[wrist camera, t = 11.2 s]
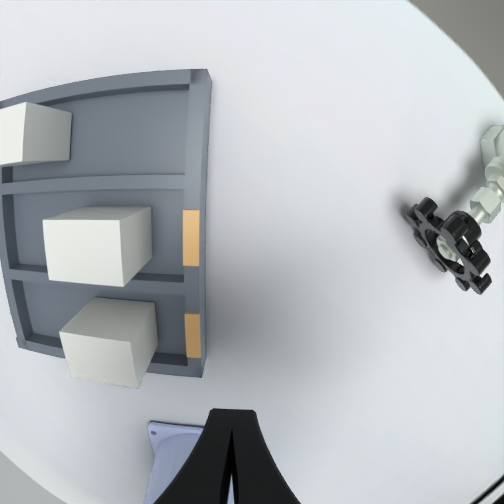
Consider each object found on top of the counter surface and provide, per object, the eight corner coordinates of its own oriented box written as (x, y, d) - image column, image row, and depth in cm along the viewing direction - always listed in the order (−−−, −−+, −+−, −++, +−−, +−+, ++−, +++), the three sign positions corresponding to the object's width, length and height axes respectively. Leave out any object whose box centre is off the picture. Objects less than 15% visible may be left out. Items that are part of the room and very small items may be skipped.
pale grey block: (158, 343, 18) (138, 388, 14) (100, 336, 18) (70, 376, 14) (154, 302, 17) (130, 341, 13) (94, 297, 17) (58, 331, 13)
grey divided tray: (205, 356, 20) (201, 379, 17) (34, 332, 19) (17, 348, 17) (212, 81, 16) (206, 67, 13) (17, 106, 15) (-5, 102, 13)
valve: (486, 100, 16) (389, 201, 18) (548, 90, 9) (451, 219, 11) (521, 171, 17) (437, 274, 19) (581, 180, 11) (495, 312, 13)
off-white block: (152, 257, 17) (123, 286, 12) (89, 254, 17) (48, 280, 12) (151, 206, 16) (119, 220, 12) (86, 206, 16) (42, 219, 11)
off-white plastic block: (69, 160, 15) (22, 161, 11) (21, 165, 15) (-27, 169, 11) (71, 113, 14) (26, 101, 10) (23, 122, 14) (-24, 117, 10)
